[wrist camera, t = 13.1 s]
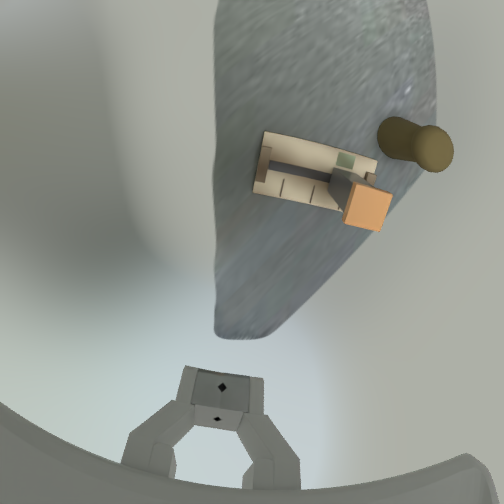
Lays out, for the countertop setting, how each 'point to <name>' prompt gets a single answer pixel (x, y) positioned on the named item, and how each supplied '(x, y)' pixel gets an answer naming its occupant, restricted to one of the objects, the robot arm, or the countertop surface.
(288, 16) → the countertop surface
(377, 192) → the fader knob
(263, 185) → the fader board
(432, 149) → the cork
